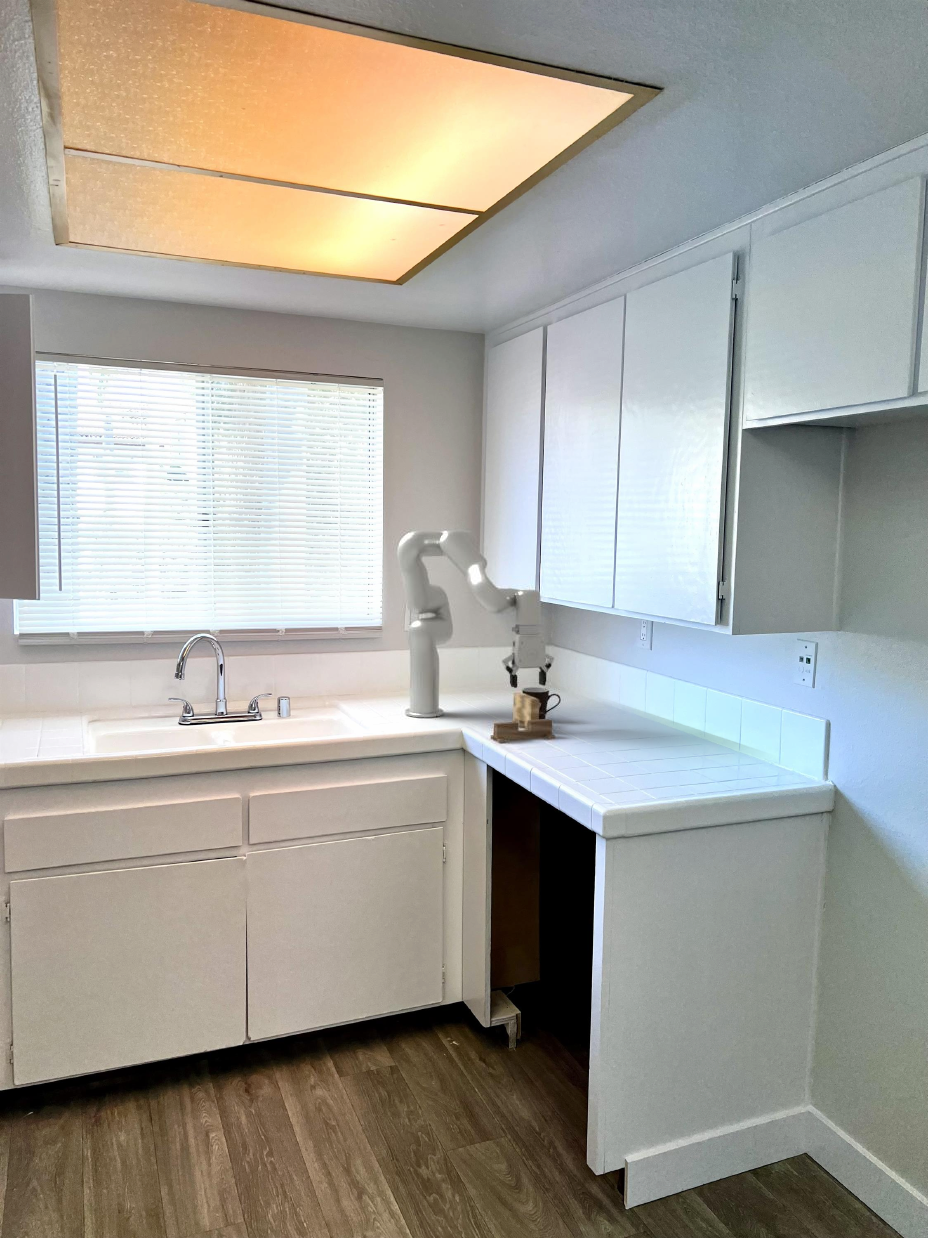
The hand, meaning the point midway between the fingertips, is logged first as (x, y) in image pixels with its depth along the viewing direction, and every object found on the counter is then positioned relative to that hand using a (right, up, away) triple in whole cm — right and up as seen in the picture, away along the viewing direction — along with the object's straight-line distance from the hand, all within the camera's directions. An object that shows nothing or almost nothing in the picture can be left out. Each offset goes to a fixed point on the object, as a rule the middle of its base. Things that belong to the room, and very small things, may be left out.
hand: (528, 686), depth 278 cm
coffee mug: (+4, -12, +12) cm, 18 cm away
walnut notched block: (-2, -14, -12) cm, 19 cm away
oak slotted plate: (-1, -13, +2) cm, 13 cm away
